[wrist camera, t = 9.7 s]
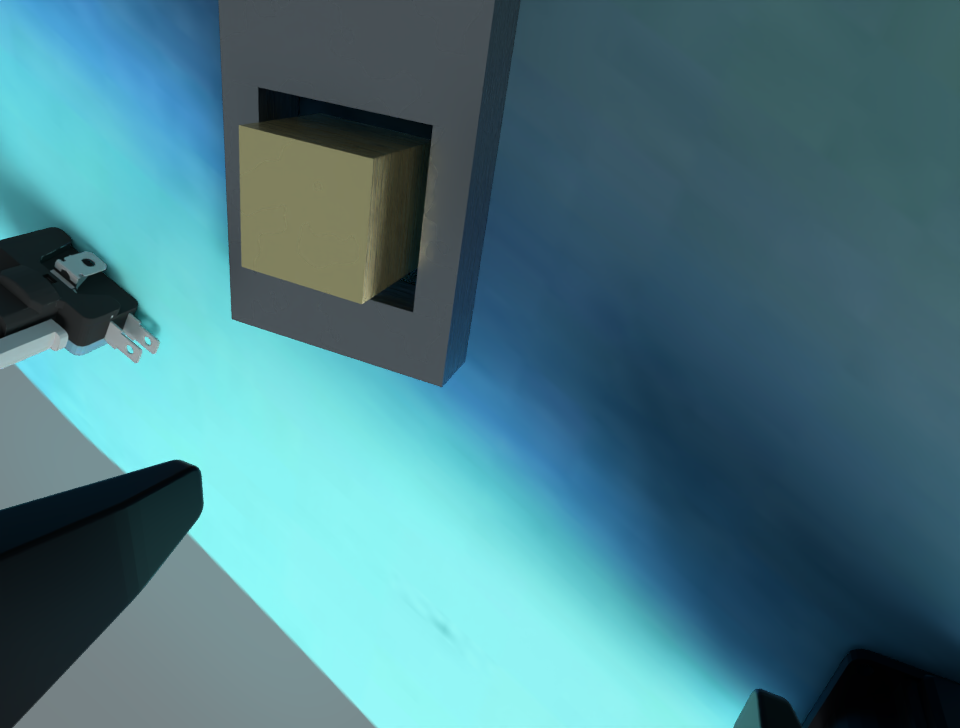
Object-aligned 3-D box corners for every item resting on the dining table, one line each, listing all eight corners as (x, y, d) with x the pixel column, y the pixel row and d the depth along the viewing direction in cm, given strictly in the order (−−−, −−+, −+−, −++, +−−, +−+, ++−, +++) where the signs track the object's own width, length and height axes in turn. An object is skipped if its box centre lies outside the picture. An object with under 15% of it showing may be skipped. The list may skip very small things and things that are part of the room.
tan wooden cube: (422, 264, 22) (361, 304, 18) (317, 234, 22) (241, 266, 19) (437, 140, 20) (373, 159, 16) (321, 112, 21) (238, 125, 17)
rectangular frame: (464, 361, 22) (441, 387, 21) (267, 300, 24) (231, 319, 23) (600, -519, 13) (577, -605, 11) (257, -505, 15) (194, -577, 13)
